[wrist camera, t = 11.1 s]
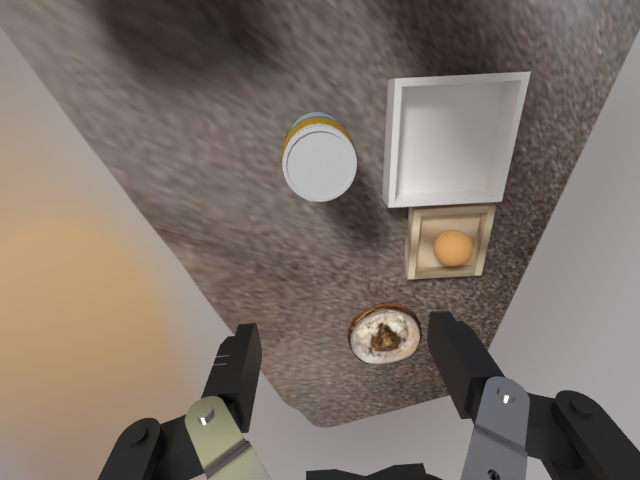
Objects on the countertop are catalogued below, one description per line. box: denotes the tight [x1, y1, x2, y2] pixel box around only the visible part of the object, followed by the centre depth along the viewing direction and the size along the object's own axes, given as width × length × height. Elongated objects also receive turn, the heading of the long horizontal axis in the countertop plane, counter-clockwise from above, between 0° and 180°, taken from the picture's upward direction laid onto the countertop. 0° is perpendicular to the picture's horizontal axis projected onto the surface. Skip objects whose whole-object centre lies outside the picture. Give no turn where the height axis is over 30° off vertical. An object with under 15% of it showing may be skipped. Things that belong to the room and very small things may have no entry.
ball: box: [433, 230, 473, 266], centre depth 41 cm, size 5×5×5 cm
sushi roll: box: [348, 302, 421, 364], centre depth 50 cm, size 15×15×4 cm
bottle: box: [282, 112, 357, 202], centre depth 31 cm, size 7×7×15 cm
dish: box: [382, 72, 531, 208], centre depth 37 cm, size 15×15×4 cm
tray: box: [404, 202, 497, 279], centre depth 43 cm, size 11×11×2 cm
